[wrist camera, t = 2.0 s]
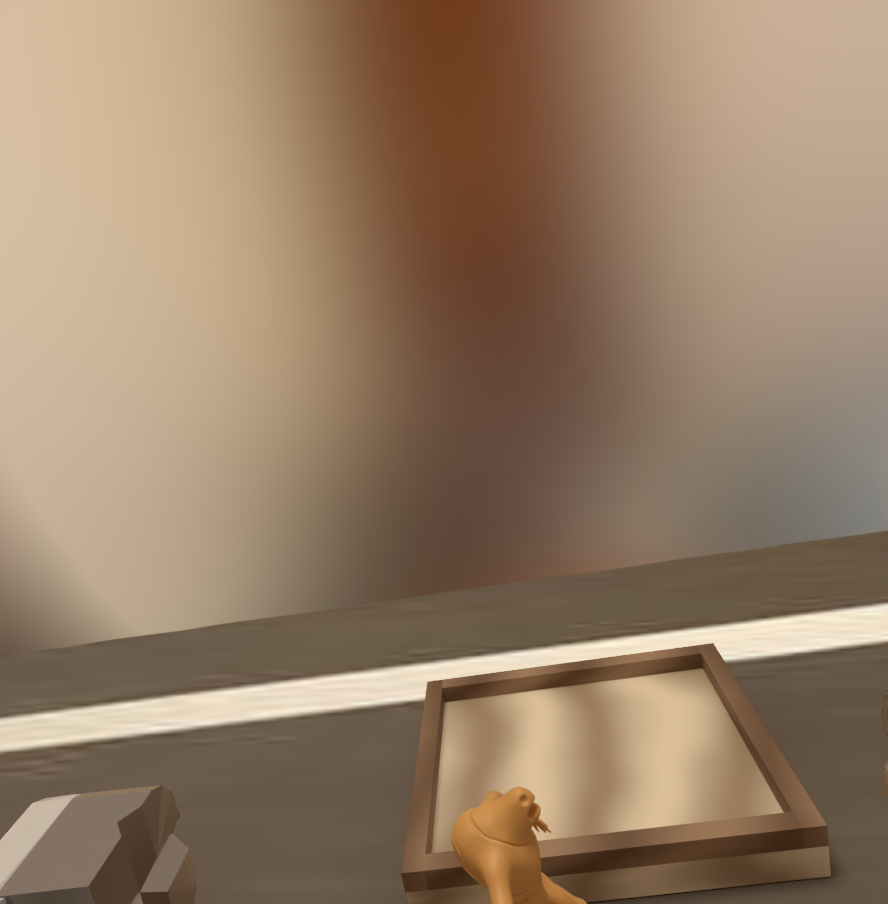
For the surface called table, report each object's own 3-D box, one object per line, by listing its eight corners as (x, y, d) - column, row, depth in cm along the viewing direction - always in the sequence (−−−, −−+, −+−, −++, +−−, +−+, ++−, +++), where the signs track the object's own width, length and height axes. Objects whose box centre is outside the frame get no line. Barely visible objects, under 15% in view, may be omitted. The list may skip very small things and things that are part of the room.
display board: (411, 921, 33) (401, 873, 33) (434, 716, 49) (427, 681, 49) (830, 876, 32) (826, 825, 31) (717, 679, 47) (713, 643, 47)
